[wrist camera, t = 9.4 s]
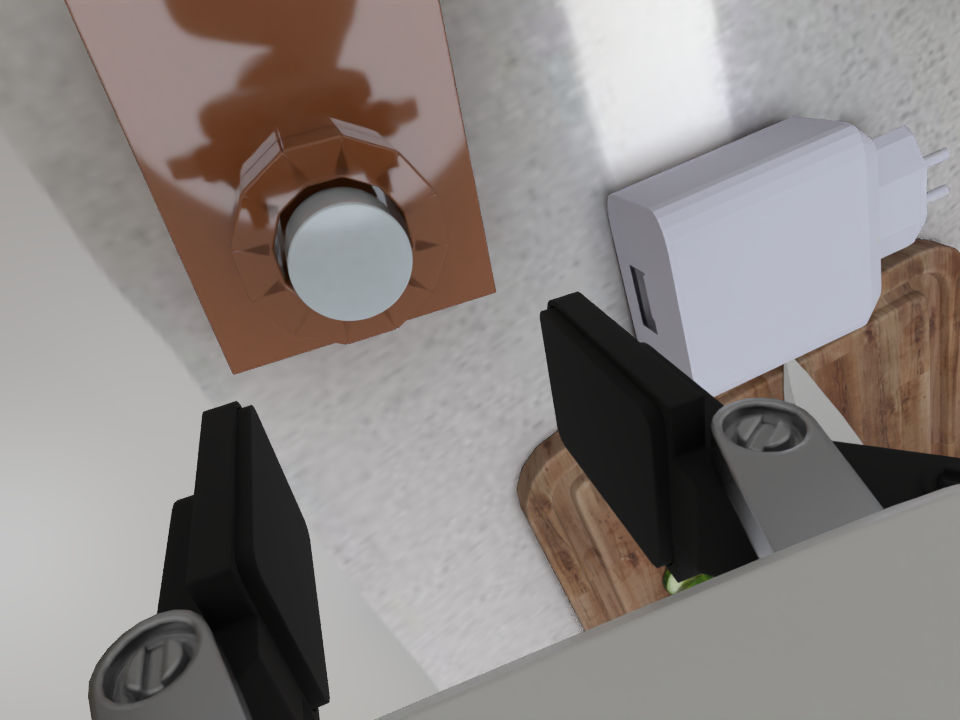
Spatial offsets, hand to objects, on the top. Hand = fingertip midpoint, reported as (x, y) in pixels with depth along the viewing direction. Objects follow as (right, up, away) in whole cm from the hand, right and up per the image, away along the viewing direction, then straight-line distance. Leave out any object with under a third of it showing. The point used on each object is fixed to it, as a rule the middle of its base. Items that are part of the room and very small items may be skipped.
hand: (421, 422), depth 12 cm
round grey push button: (-3, +5, +9) cm, 11 cm away
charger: (+14, +8, +19) cm, 25 cm away
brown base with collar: (-5, +8, +12) cm, 16 cm away
